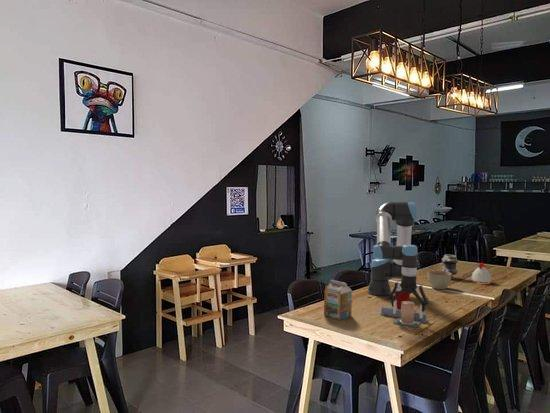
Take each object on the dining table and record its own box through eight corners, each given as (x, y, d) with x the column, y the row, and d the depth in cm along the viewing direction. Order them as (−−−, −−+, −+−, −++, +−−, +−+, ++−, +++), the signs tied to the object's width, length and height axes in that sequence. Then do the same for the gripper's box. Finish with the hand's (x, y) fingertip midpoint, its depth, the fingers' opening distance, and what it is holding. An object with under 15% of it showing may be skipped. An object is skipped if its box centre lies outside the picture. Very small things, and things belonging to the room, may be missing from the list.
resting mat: (392, 323, 221) (392, 322, 221) (398, 317, 230) (398, 317, 230) (416, 327, 214) (416, 326, 214) (421, 322, 224) (421, 321, 224)
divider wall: (380, 314, 235) (380, 307, 235) (382, 313, 238) (382, 306, 238) (426, 322, 222) (426, 315, 222) (427, 321, 225) (427, 313, 225)
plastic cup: (397, 304, 256) (398, 284, 256) (414, 308, 249) (415, 288, 248) (388, 308, 249) (388, 287, 248) (405, 312, 241) (406, 291, 240)
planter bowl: (451, 286, 304) (452, 271, 304) (450, 291, 290) (451, 276, 289) (427, 284, 311) (428, 269, 311) (425, 289, 296) (426, 273, 296)
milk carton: (323, 315, 232) (324, 281, 231) (335, 311, 240) (336, 278, 239) (339, 320, 225) (340, 284, 224) (351, 316, 232) (352, 281, 231)
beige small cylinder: (399, 322, 221) (399, 303, 221) (402, 319, 227) (403, 300, 226) (412, 324, 218) (412, 305, 217) (415, 321, 223) (415, 302, 223)
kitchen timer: (467, 282, 321) (468, 262, 320) (475, 279, 330) (476, 260, 329) (486, 285, 311) (487, 265, 310) (494, 282, 320) (495, 263, 319)
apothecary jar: (459, 280, 327) (460, 256, 326) (442, 279, 328) (443, 256, 328) (455, 276, 338) (455, 254, 338) (439, 276, 340) (439, 253, 339)
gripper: (383, 273, 224) (381, 312, 225) (432, 279, 211) (431, 321, 212) (387, 270, 231) (386, 309, 232) (435, 276, 218) (434, 317, 219)
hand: (407, 315), depth 222 cm, fingers open, 13 cm apart
